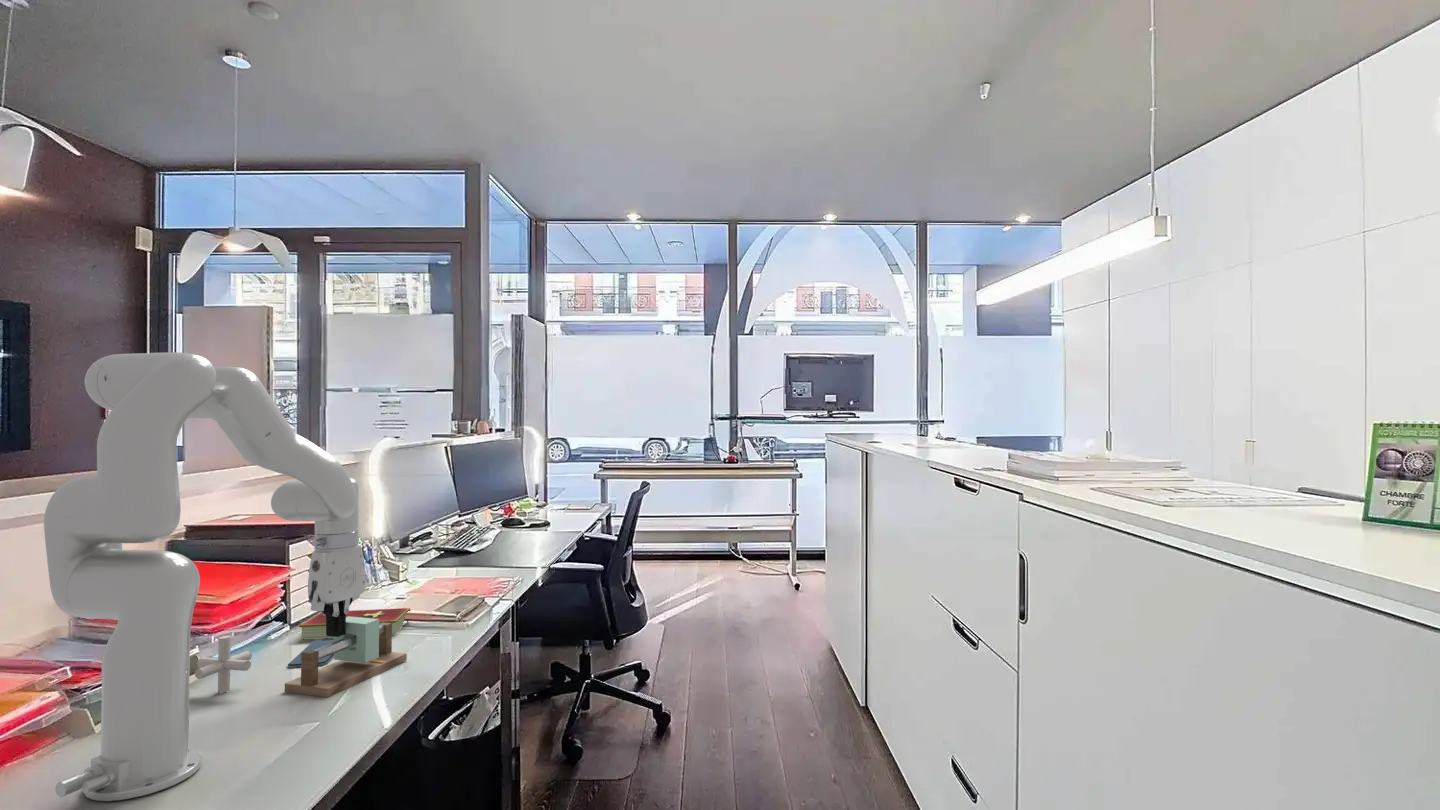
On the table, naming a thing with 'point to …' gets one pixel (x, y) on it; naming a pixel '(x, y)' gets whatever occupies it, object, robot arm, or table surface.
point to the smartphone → (314, 645)
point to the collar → (360, 640)
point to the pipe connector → (223, 664)
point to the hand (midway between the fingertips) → (335, 635)
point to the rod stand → (343, 666)
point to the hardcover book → (317, 623)
